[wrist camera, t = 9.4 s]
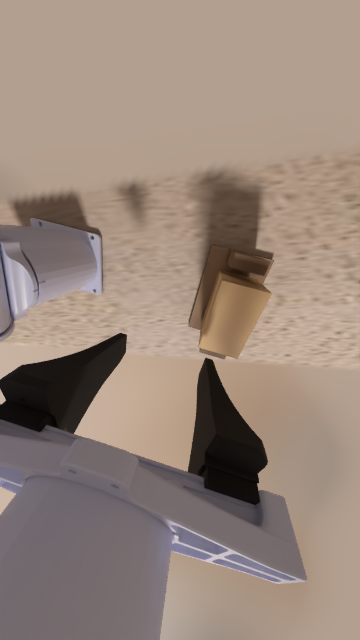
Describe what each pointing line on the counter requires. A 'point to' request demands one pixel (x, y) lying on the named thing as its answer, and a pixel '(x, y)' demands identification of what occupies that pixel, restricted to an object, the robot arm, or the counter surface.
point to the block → (232, 313)
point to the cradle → (230, 263)
